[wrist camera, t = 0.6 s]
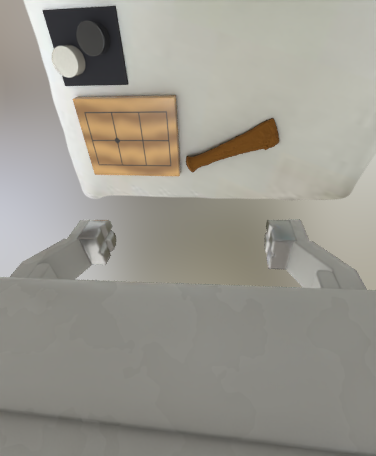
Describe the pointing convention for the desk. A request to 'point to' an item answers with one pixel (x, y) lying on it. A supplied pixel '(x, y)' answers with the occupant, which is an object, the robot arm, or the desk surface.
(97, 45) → the black stone
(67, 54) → the white stone
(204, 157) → the primitive tool
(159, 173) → the go board
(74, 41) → the stone mat
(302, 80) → the desk surface
